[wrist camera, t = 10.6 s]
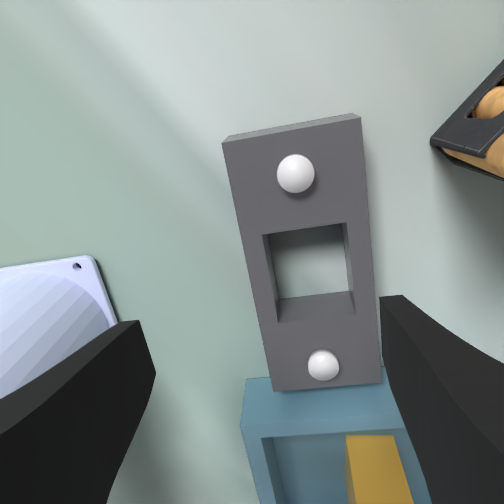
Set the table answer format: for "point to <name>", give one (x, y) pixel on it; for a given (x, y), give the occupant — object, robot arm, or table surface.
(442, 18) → the table surface
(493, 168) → the ammunition clip
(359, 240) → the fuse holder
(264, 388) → the parts tray
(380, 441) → the block
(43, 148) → the table surface
